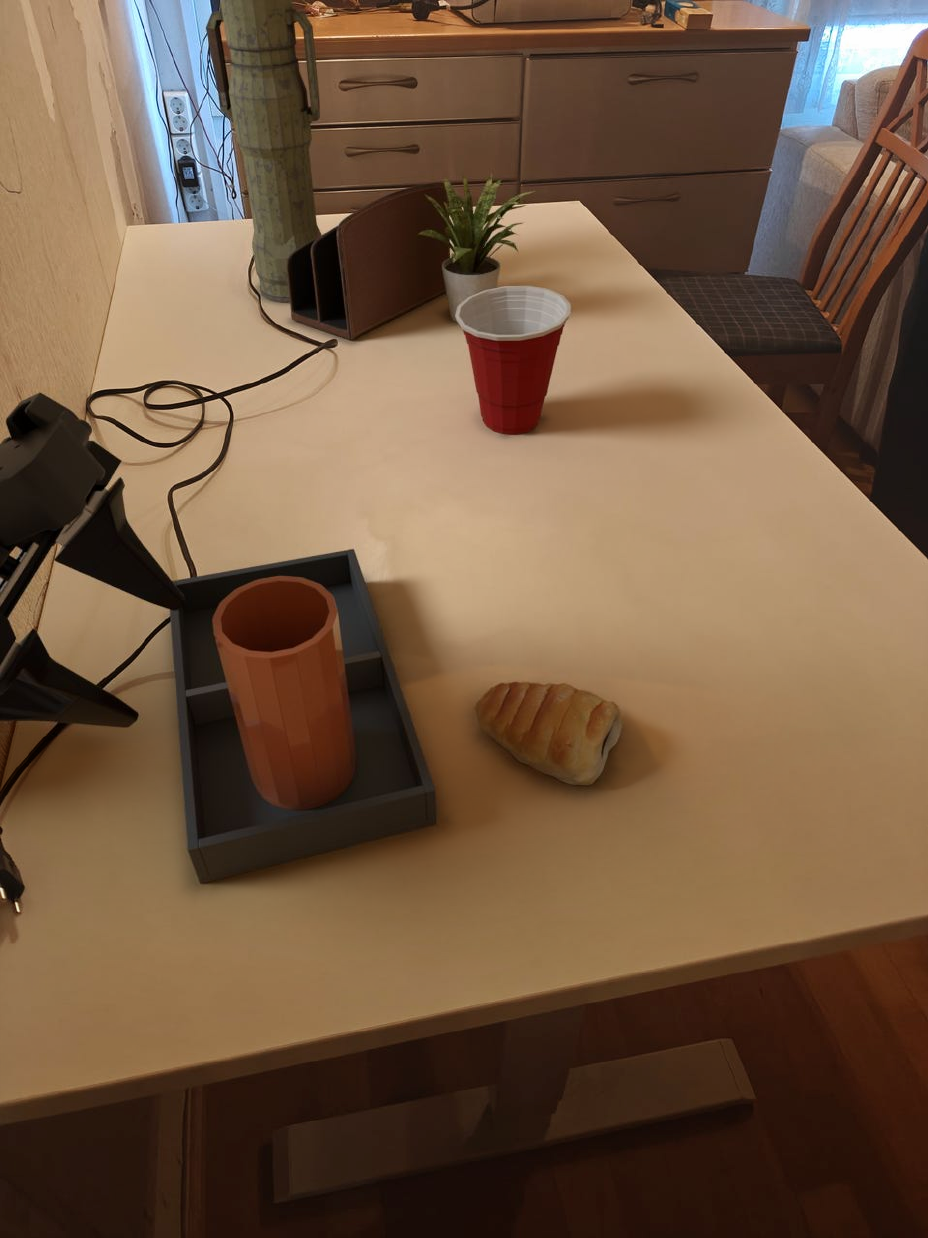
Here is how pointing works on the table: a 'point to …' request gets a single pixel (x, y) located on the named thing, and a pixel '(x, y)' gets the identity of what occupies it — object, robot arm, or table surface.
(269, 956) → the table surface
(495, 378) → the plastic cup
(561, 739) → the pastry
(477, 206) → the house plant
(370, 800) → the tray
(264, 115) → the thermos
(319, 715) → the cup
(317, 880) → the table surface
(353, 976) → the table surface
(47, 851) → the table surface
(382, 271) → the letter holder
